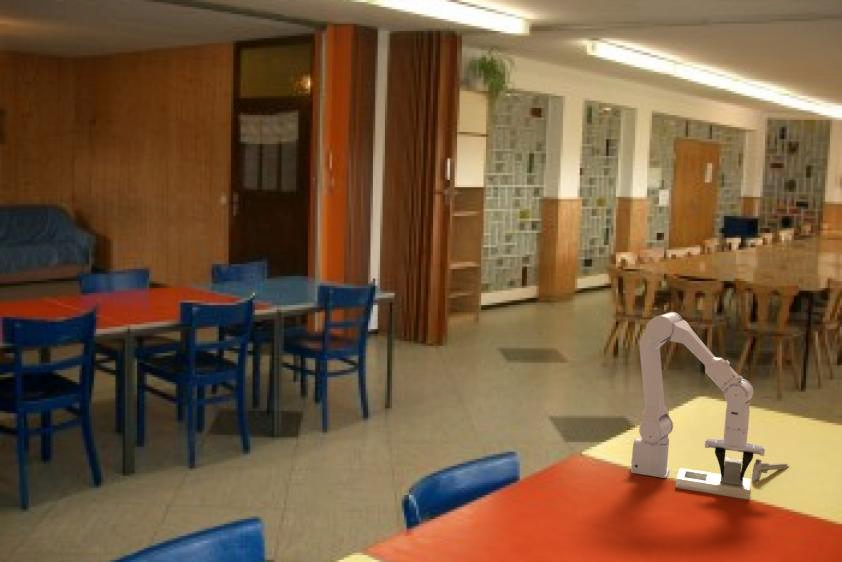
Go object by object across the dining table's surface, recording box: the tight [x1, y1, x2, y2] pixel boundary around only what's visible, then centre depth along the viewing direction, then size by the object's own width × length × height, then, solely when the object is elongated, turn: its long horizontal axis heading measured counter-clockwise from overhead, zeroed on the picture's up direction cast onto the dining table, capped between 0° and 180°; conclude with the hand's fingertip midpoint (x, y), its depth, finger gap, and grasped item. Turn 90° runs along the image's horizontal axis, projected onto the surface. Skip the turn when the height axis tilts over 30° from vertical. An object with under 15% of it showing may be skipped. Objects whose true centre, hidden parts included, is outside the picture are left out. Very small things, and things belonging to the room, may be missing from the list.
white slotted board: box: [675, 467, 752, 500], centre depth 231 cm, size 18×9×2 cm, turn 68°
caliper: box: [751, 458, 790, 483], centre depth 244 cm, size 20×1×6 cm, turn 133°
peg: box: [723, 456, 743, 486], centre depth 229 cm, size 4×4×8 cm
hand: (731, 477), depth 229 cm, fingers open, 4 cm apart
